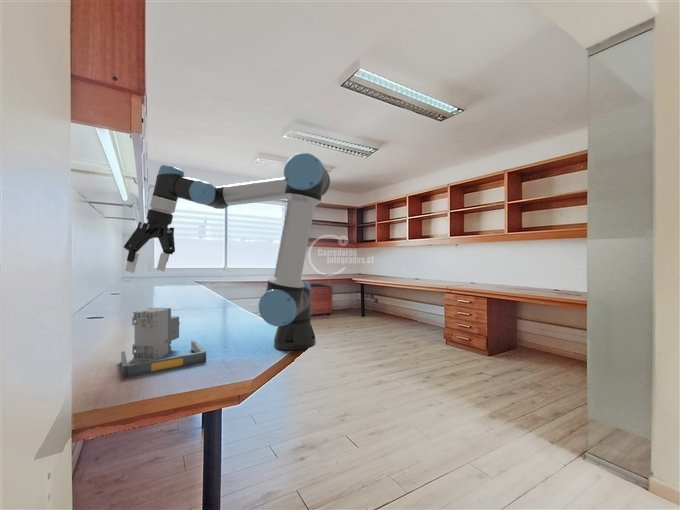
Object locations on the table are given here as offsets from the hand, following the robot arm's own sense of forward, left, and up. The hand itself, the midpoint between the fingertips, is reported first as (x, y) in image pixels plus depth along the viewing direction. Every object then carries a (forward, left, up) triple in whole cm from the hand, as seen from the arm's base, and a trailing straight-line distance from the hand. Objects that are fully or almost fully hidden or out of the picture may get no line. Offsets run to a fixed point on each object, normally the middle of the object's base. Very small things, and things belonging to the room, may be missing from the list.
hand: (146, 271), depth 106 cm
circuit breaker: (-4, -3, -28) cm, 28 cm away
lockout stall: (-15, -3, -28) cm, 32 cm away
